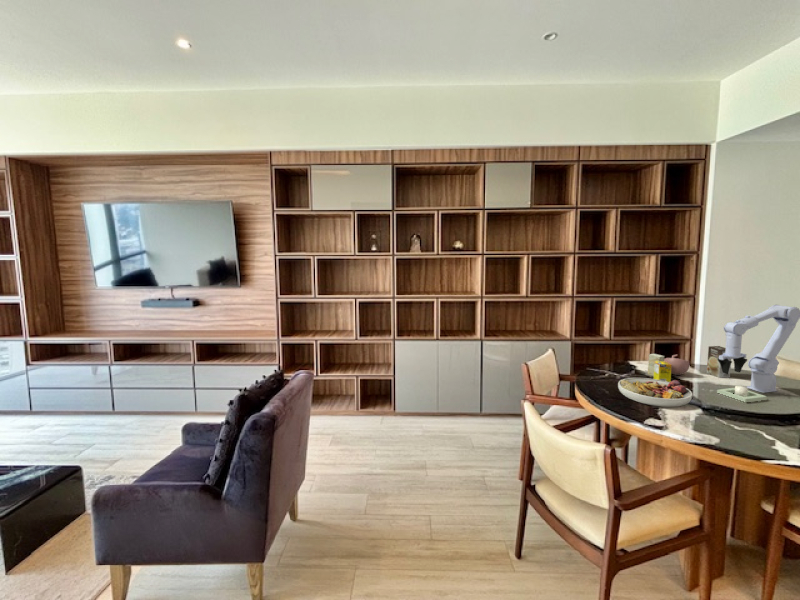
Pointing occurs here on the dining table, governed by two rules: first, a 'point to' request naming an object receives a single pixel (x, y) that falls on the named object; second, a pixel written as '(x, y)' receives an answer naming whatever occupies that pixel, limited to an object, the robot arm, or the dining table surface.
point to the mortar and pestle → (677, 365)
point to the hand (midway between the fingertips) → (731, 372)
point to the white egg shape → (741, 390)
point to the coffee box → (716, 362)
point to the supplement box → (662, 371)
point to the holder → (751, 395)
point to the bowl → (655, 392)
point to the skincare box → (651, 362)
